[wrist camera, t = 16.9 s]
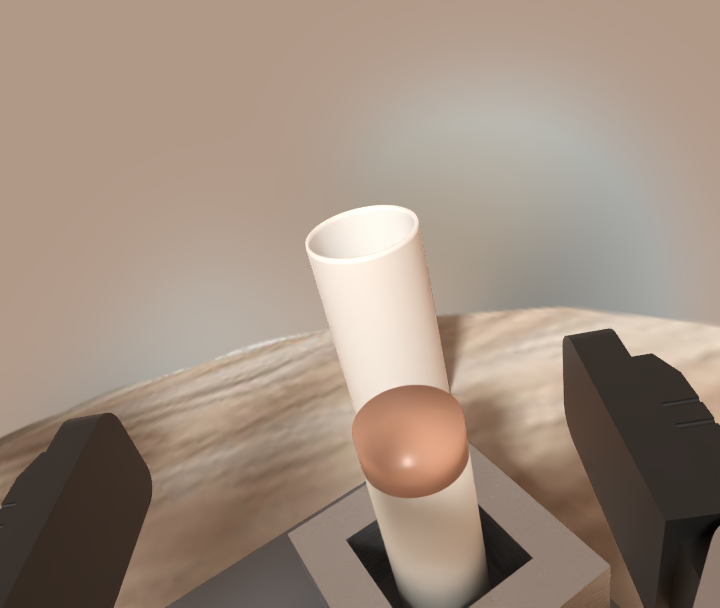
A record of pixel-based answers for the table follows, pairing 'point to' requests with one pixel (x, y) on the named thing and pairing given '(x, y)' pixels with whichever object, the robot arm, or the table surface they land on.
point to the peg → (424, 495)
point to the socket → (501, 541)
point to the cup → (378, 300)
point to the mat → (281, 580)
